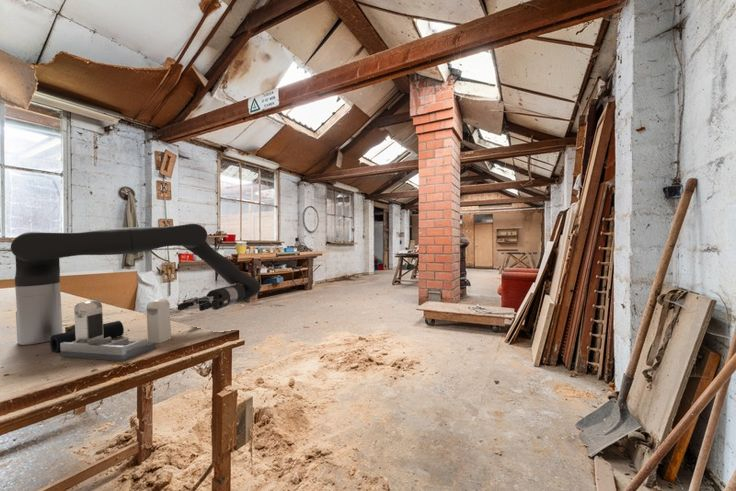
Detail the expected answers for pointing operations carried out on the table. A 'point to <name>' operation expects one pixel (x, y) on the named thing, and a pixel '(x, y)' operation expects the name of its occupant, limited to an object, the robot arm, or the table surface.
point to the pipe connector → (109, 330)
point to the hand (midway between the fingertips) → (189, 307)
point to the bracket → (99, 338)
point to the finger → (158, 321)
